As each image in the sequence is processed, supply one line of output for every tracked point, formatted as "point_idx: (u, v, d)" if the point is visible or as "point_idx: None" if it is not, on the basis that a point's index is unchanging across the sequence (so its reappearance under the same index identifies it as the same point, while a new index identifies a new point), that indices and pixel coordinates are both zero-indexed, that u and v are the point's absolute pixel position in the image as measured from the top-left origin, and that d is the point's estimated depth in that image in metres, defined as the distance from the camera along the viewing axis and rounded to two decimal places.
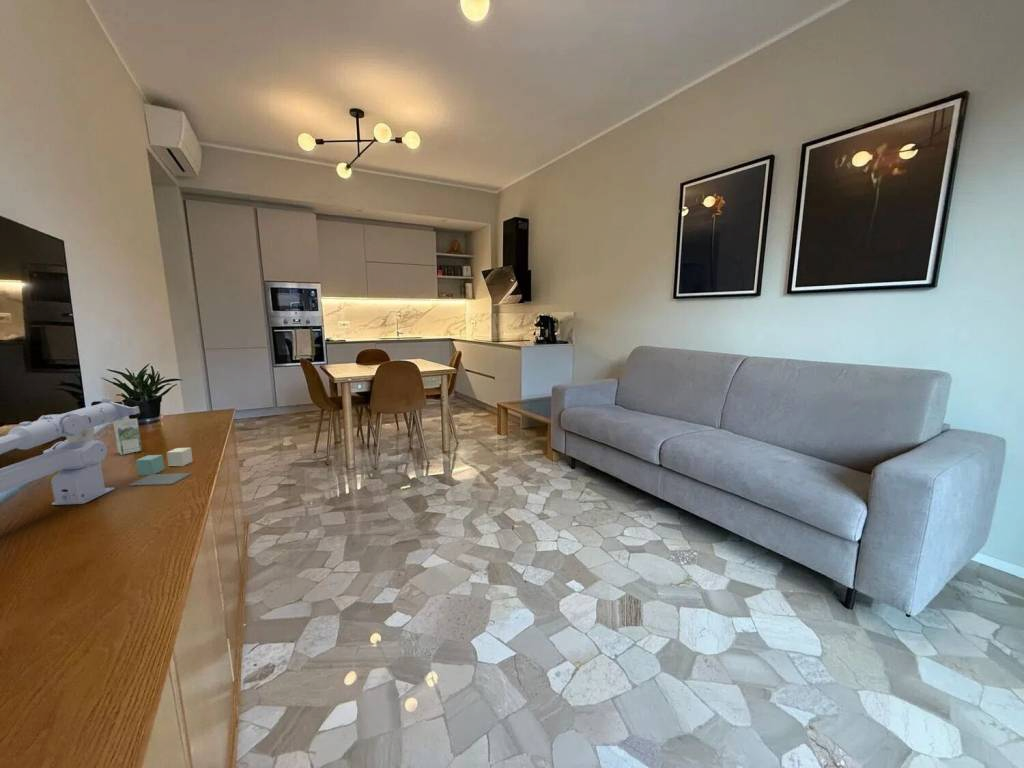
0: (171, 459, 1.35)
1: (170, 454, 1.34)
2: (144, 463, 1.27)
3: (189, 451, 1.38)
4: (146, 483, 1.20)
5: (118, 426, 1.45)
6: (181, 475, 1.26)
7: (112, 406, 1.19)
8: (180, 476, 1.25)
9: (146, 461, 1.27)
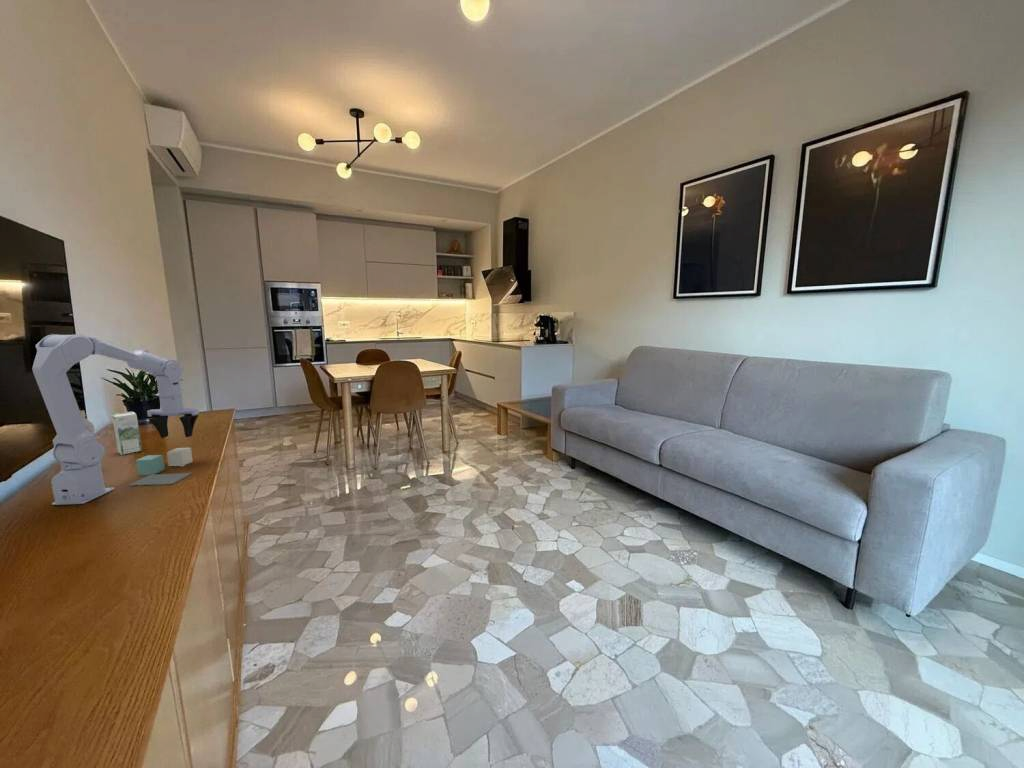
0: (171, 459, 1.35)
1: (170, 454, 1.34)
2: (144, 463, 1.27)
3: (189, 451, 1.38)
4: (146, 483, 1.20)
5: (118, 426, 1.45)
6: (181, 475, 1.26)
7: (183, 405, 1.36)
8: (180, 476, 1.25)
9: (146, 461, 1.27)
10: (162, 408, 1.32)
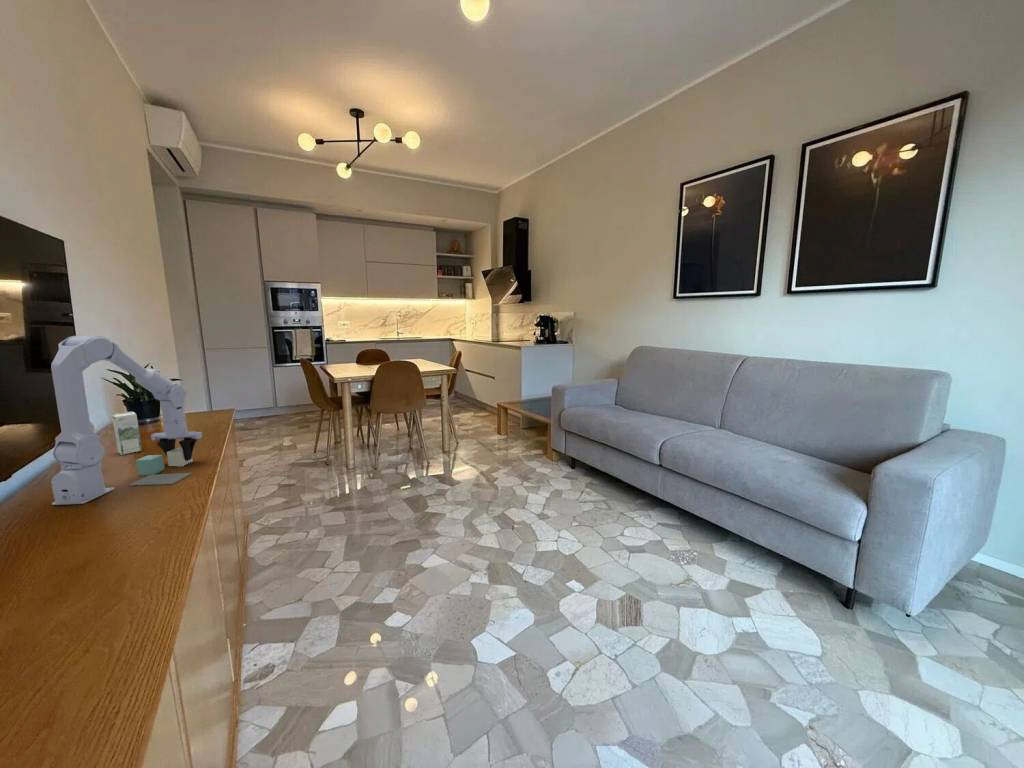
0: (171, 459, 1.35)
1: (170, 454, 1.34)
2: (144, 463, 1.27)
3: None
4: (146, 483, 1.20)
5: (118, 426, 1.45)
6: (181, 475, 1.26)
7: None
8: (180, 476, 1.25)
9: (146, 461, 1.27)
10: (166, 432, 1.33)
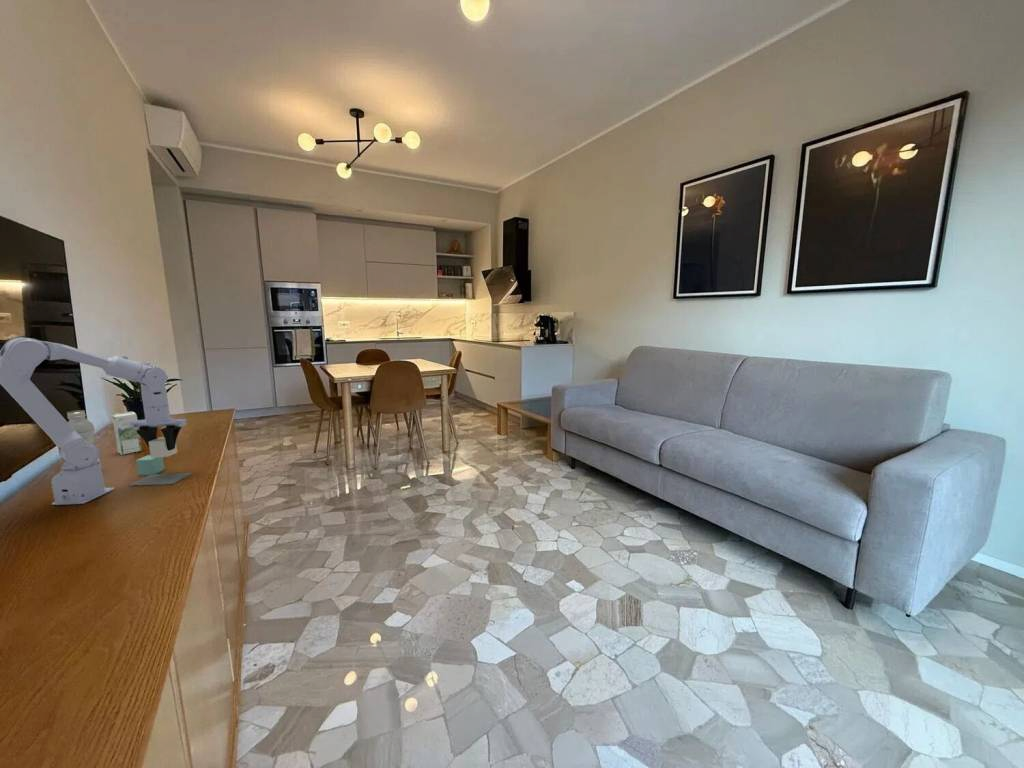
0: (153, 449, 1.24)
1: (152, 443, 1.24)
2: (144, 463, 1.27)
3: None
4: (146, 483, 1.20)
5: (118, 426, 1.45)
6: (181, 475, 1.26)
7: None
8: (180, 476, 1.25)
9: (146, 461, 1.27)
10: (146, 419, 1.22)
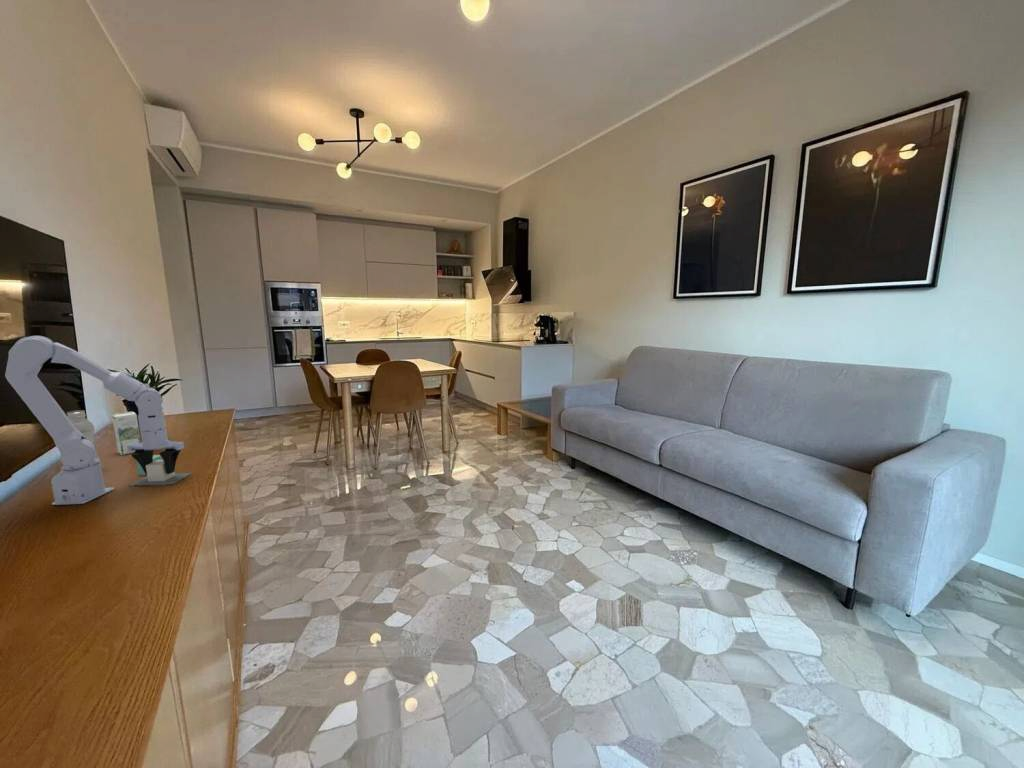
0: (150, 473, 1.21)
1: (149, 467, 1.21)
2: None
3: None
4: (146, 483, 1.20)
5: (118, 426, 1.45)
6: (181, 475, 1.26)
7: (167, 439, 1.24)
8: (180, 476, 1.25)
9: None
10: (143, 443, 1.19)
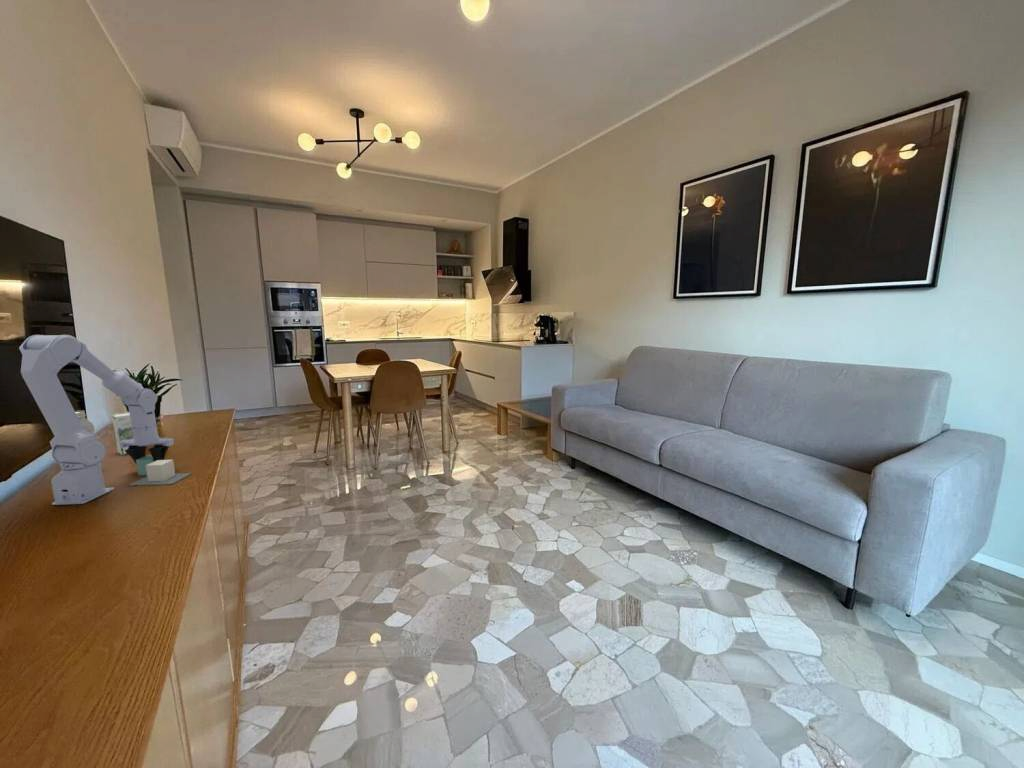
0: (150, 473, 1.21)
1: (149, 467, 1.21)
2: (144, 463, 1.27)
3: (171, 464, 1.25)
4: (146, 483, 1.20)
5: (118, 426, 1.45)
6: (181, 475, 1.26)
7: None
8: (180, 476, 1.25)
9: (146, 461, 1.27)
10: (135, 439, 1.26)
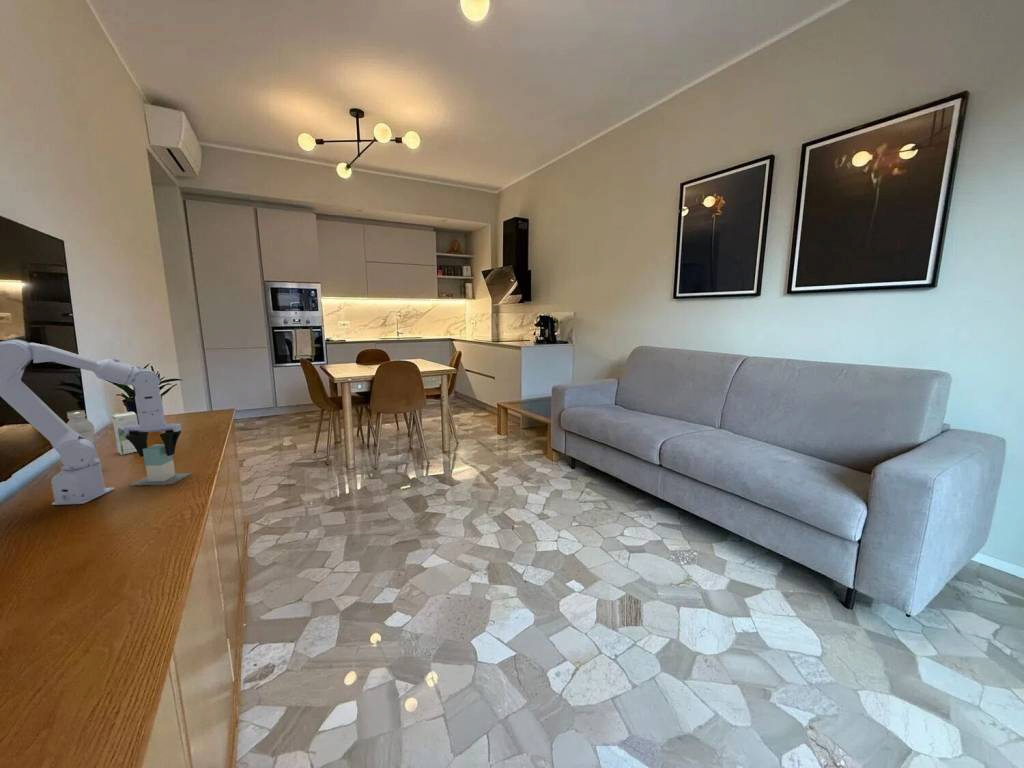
0: (150, 473, 1.21)
1: (149, 467, 1.21)
2: (151, 453, 1.20)
3: (171, 464, 1.25)
4: (146, 483, 1.20)
5: (118, 426, 1.45)
6: (181, 475, 1.26)
7: (164, 421, 1.23)
8: (180, 476, 1.25)
9: (153, 450, 1.20)
10: (140, 424, 1.18)
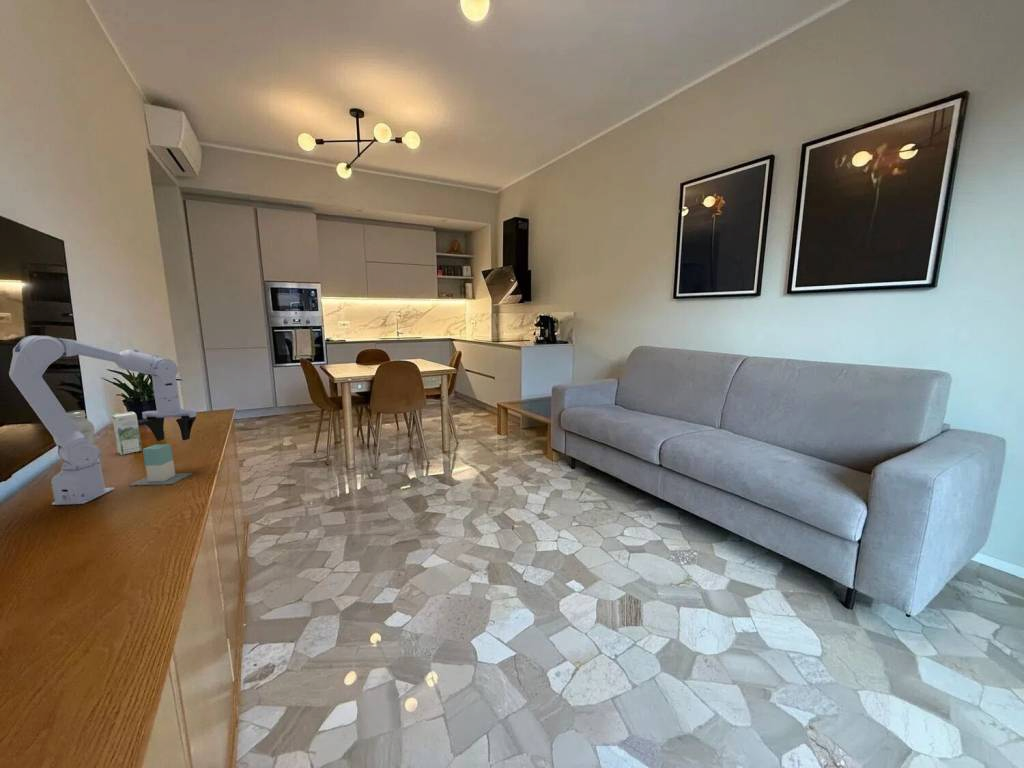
0: (150, 473, 1.21)
1: (149, 467, 1.21)
2: (151, 453, 1.20)
3: (171, 464, 1.25)
4: (146, 483, 1.20)
5: (118, 426, 1.45)
6: (181, 475, 1.26)
7: (180, 407, 1.29)
8: (180, 476, 1.25)
9: (153, 450, 1.20)
10: (158, 410, 1.25)
